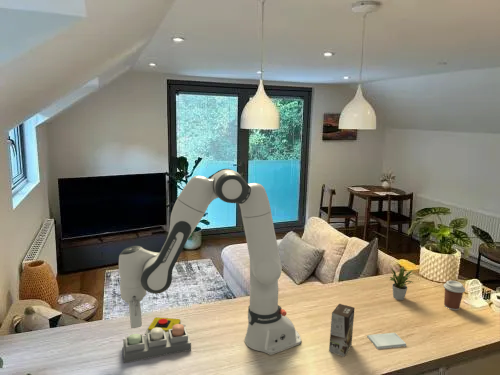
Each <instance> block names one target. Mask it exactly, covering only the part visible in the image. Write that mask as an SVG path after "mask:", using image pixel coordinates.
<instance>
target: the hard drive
mask: <svg viewBox="0 0 500 375" xmlns="http://www.w3.org/2000/svg"><path fill="white" fill-rule="evenodd" d="M366 337H367V339H368V341H370V342H371V344H372V343H373V344H372V345H373V346H374V347H375V348H376V349H377V350H381V349H382V350H383V349H390V348H391V349H392V347H393V348H402V347H401V346H404V347H407V343H406V342H405V341H404V340H403V339H402V338H401V337H400V336H399V335H398V334H397V332H388V333H377V334H368V335H366Z"/></svg>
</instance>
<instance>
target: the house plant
mask: <svg viewBox="0 0 500 375" xmlns="http://www.w3.org/2000/svg"><path fill="white" fill-rule="evenodd" d="M389 268H390V269H391V271H390V273H391V274H392V276H390V277H389V281H393V282H394V283H393V284H392V298H394V299H395V300H398V301H403V300H405V297H406V295H407V290H408V286H407V285H409V284H411V283H413V281H412V280H409V279H410V278H412V276H413V275H415V273H413V271H414V269H411V270H409V271H408V272H405V267H404V266H401V267H399V266H398V268H399V273H398V275H397V274H396V271H395V270H394V269H393V268H392V267H391V266H389ZM404 274H405V275H404ZM413 278H415V277H414V276H413Z"/></svg>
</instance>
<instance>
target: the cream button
mask: <svg viewBox="0 0 500 375" xmlns="http://www.w3.org/2000/svg"><path fill="white" fill-rule="evenodd" d="M161 339H163V329H162V328H153V329H152V330H151V340H152V341H156V340H161Z"/></svg>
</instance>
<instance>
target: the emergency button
mask: <svg viewBox="0 0 500 375" xmlns="http://www.w3.org/2000/svg"><path fill="white" fill-rule="evenodd" d="M181 321H182V320H181V319H180V318H172V317H169V318H168V317H159V316H158V317H154V318H153V319H152V321H151V322H150V325H149V326H148V327H147V329H146V330H145V331H144V336H146V335H147V333H151V330H152V329H153V328H162V329H163V330H164V331H165V332H169V329H172V327H173V326H174V325H176V324H182V323H181ZM182 325H183V326H184V327H185V328H186V327H187V326H186V324H182Z"/></svg>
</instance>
